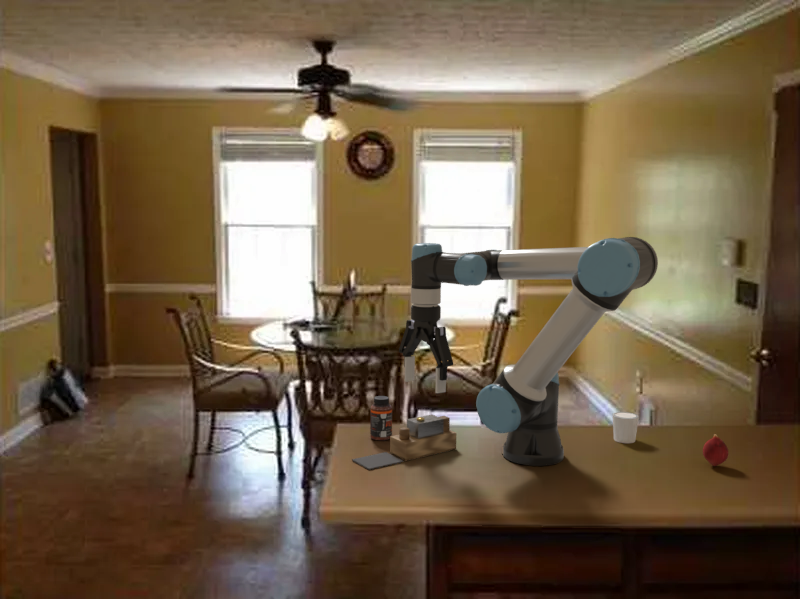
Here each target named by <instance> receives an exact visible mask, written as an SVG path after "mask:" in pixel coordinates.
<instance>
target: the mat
mask: <svg viewBox="0 0 800 599" xmlns="http://www.w3.org/2000/svg"><path fill="white" fill-rule="evenodd" d="M351 461H352V462H353V463H356V464H358V466H361V467H362V466H363V468H364V469H365V470H368V471H372V470H375V469H374V468H377V469H380V468H379V467H381V468H384V467H383V466H385V467H389V466H388V465H390V466H393V465H392V464H394V465H398V464H397V463H399V464H402V463H401V462H403V463H404V460H403V459H401V458H399V457H397V456H395V455H393V454H391V453H390V452H389V453H388V452H387V451H384V452H383V451H382V452H380V453H375V454H372V455H371V454H370V455H366V456H361V457H356V458H351ZM371 469H372V470H371Z"/></svg>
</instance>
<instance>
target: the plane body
mask: <svg viewBox="0 0 800 599" xmlns="http://www.w3.org/2000/svg"><path fill="white" fill-rule="evenodd" d="M439 417H440V418H442V419H444V422H443V434H441V435H437V436H432V437H427V438H422V439H416V438H414V437H412V436H410V429H409V428H407V426H406V427H405V426H404V427H400V428H399V429H398V432H399V434H396V435H395V434H394V435H392V436H390V439H389V443H390V444H389V447H390V448H389V449H390V450H389V454H391V453H392V454H391V455H393V454H394V455H393V456H395V457H397V458H399V459H401V460H403V461H404V462H407V461H406V460H408V461H412V460H416V459H415V458H417V459H421V458H425V457H430V456H434V455H437V453H439V454H442V453H441V452H443V453H447V452H451V451H450V450H452V451H455V449H456V450H457V432H456V431H453V430H450V423H451V422H450V420H451V419H450V417H449V416H446V415H441V416H439ZM446 451H447V452H446ZM433 454H434V455H433ZM429 455H430V456H429ZM424 456H425V457H424ZM420 457H421V458H420ZM411 459H412V460H411Z"/></svg>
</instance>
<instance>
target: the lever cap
mask: <svg viewBox="0 0 800 599" xmlns="http://www.w3.org/2000/svg"><path fill="white" fill-rule="evenodd" d="M443 422H444V419H442V418H440V416H438V415H437V416H436V415H434V414H427V415H422V416H417V417H412V418H407V419H406V428H409V429H410V436H412V437H414V438H416V439H422V438H427V437H432V436H437V435H441V434H443Z"/></svg>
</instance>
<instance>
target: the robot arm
mask: <svg viewBox="0 0 800 599" xmlns="http://www.w3.org/2000/svg"><path fill="white" fill-rule="evenodd" d="M410 265H411V286H410V287H411V288H410V303H411V304H412V305H411V306H410V319H408V320H406V321H405V322H406V323H405V324H406V325H405V330H404V333H403V336H402V338H401V341H400V344H399V348H398V353H400V354H402V357H403V358H404V359H403V360H404V361H403V363H404V364H403V368H404V378H403V379H404V383H408V382H415V380H416V379H415V377H416V376H415V374H416V373H415V372H416V370H415V369H416V368H415V366H416V365H415V363H416V361H415V360H416V356H415V352H416V350H417V349H418V346H419V345H420V343H421V342H425V343H426V345H428V346H429V348H430V350H431V353H432V355H433V357H434V360H435V362H436V364H437V365H436V366H435V386H434V389H435V391H434V392H435V394H442V393H446V392H447V379H448V367H451V366H453V365H454V361H453V356H452V352H451V350H450V344H449V342H448V338H447V330H446V326H438V321H440V320H441V313H442V309H441V308H442V307H441V306H440V304H441V298H442V296H441V295H442V294H441V293H442V292H441V291H442V284H443V283H444V284H451V285H452V284H453V285H460V286H461V285H462V286H465V287H468V286H474V287H475V286H479V285H481V284H482V283H483V282H485V281H506V280H508V281H509V280H510V281H511V280H512V281H513V280H515V281H517V280H571V286H572V289H571V290H570V292H569V293H568V294H567V296H566V297H565V298H564V299H563V301H562V302H561V303H560V305H559V306H558V308H557V309H556V310H555V311H554V313H552V315H551V317H550V318H549V320H548V321H547V322H546V323H545V325H544V326H543V328H541V330H540V332H539V333H538V334H537V335H536V336H535V338H534V339H533V341H532V342H531V343H530V344H529V346H528V347H527V349H526V350H525V351H524V353H523V354H522V355H521V357H520V358H519V359H518V360H517V362H516V363H515V364H508V365H506V366H504V368H503V369H502V371H501V372H500V373H499V375H498V376H497V377H496V379H495V380H494V381H493V383H491V384H488V385H485V387H483V388H482V389H481V390H480V391H479V392H478V395H477V397H476V402H475V404H476V406H475V407H476V409H477V415H478V418H479V419H480V421H481V422H482V424H483V425H484V426H485V427H486V428H488V429H489V430H490V431H492V432H494V433H497V434H507V436H506V441H505V442H503V443H504V444H503V450H502V456H503V458H505V459H506V460H508V461H510V462H512V463H515V464H518V465H519V464H520V465H525V466H534V467H535V466H536V467H543V466H552V465H556V464H559V463H561V462H563V460H564V459H565V456H564V454H565V452H564V446H563V445H562V440H561V436H560V433H559V429H558V420H559V419H558V418H559V416H558V415H559V397H560V396H559V394H560V392H559V391H560V389H559V387H560V379H559V377H560V376H559V373H558V372H559V371H560V370H561V369H562V368H563V366H564V365H565V363H566V362H567V361H568V359H569V358H570V357H571V355H573V353H574V352H575V351H576V349H577V348H578V347H579V346H580V344H581V343H582V342H583V340H585V338H586V337H587V335H588V334H589V333H590V332H591V330H592V329H593V328H594V327H595V325H596V324H597V323H598V322H599V320H600V319H601V318H602V317H603V315H605V313H607V312H615V311H616V310H618V308H619V307H620V305H621V304H622V303H623V302H624V301H625V300H626V298H628V295H630V294H631V292H632V291H633V290H637V289H640V288H642V287H644V286H646V285H648V284H649V283H650V282H651V280H652V279H653V278H654V277H655V275H656V273H657V270H658V266H659V260H658V256H657V253H656V251H655V248H654V247H653V246H652V245H651V244H650V243H649V242H647V240H644V239H643V238H640V237H636V236H625V237H619V238H615V237H611V238H610V237H609V238H604V239H601V240H598V241H596V242H594V243H592V244H591V245H589V246H578V247H577V246H576V247H573V246H572V247H553V248H552V247H551V248H550V247H549V248H548V247H547V248H525V249H521V248H520V249H503V250H497V249H488V250H487V249H486V250H481V251H474V252H464V253H463V252H462V253H455V252H444V251H443V246H442V244H440V243H433V242H432V243H431V242H421V243H420V242H419V243H415V244H414V245H413V246H412V249H411V260H410Z"/></svg>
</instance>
